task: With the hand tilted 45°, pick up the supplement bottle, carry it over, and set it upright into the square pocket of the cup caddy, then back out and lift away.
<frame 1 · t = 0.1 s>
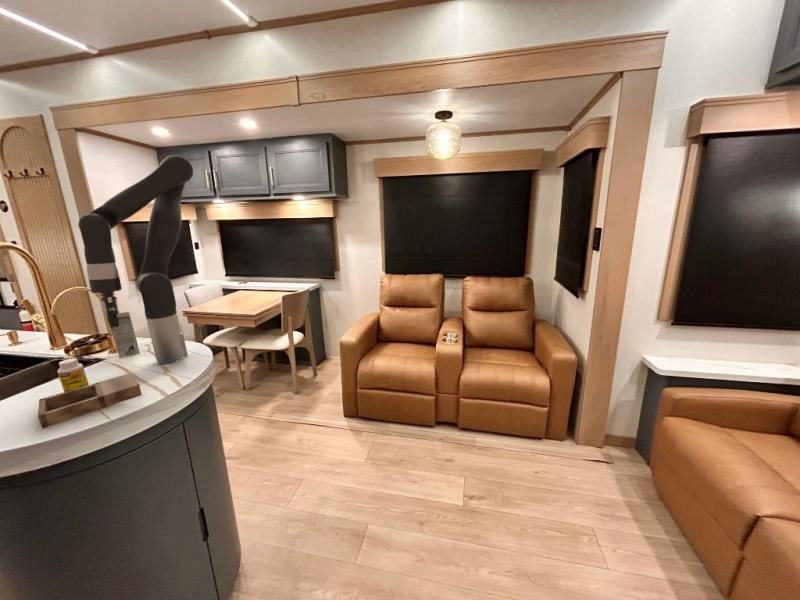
hand: (113, 324, 107), 17 cm above the countertop, tool pointing down, fingers open, 8 cm apart
cup caddy: (94, 402, 92), on the countertop
coffee box: (129, 353, 128), on the countertop
supplement bottle: (77, 391, 99), on the countertop
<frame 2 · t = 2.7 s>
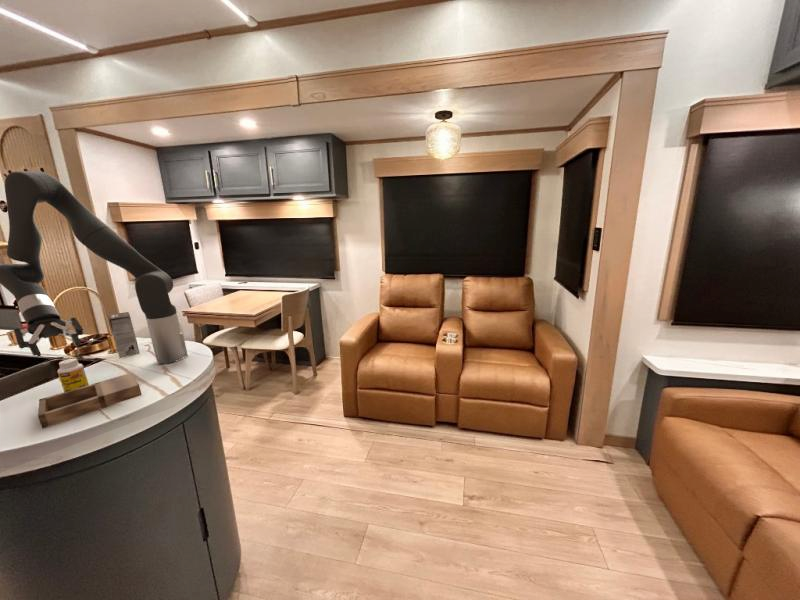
hand: (59, 350, 100), 12 cm above the countertop, tool tilted 45°, fingers open, 8 cm apart
nothing on the countertop moved.
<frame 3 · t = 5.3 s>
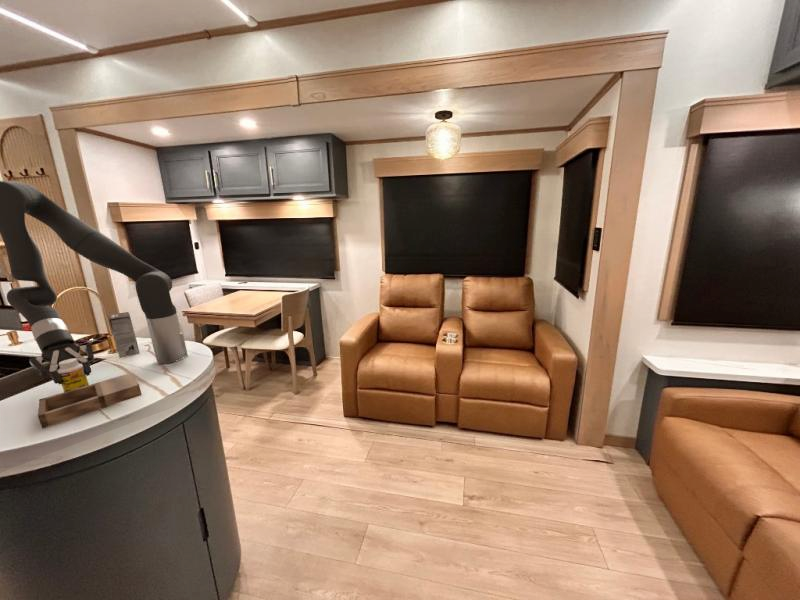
hand: (74, 378, 97), 5 cm above the countertop, tool tilted 45°, fingers closed on supplement bottle, 5 cm apart
supplement bottle: (77, 391, 99), on the countertop, touching gripper
everything else where it was.
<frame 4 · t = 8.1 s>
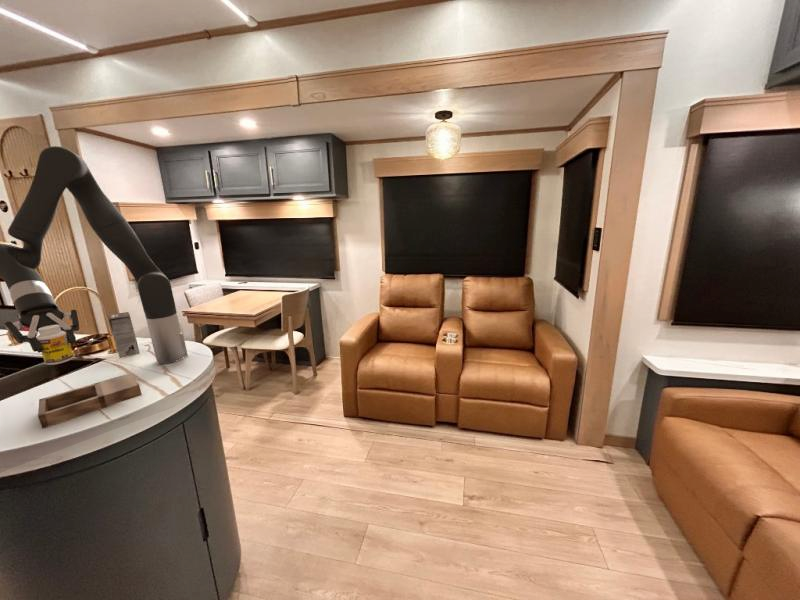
hand: (56, 346, 86), 18 cm above the countertop, tool tilted 45°, fingers closed on supplement bottle, 5 cm apart
supplement bottle: (60, 361, 88), point 13 cm above the countertop, touching gripper
everything else where it was.
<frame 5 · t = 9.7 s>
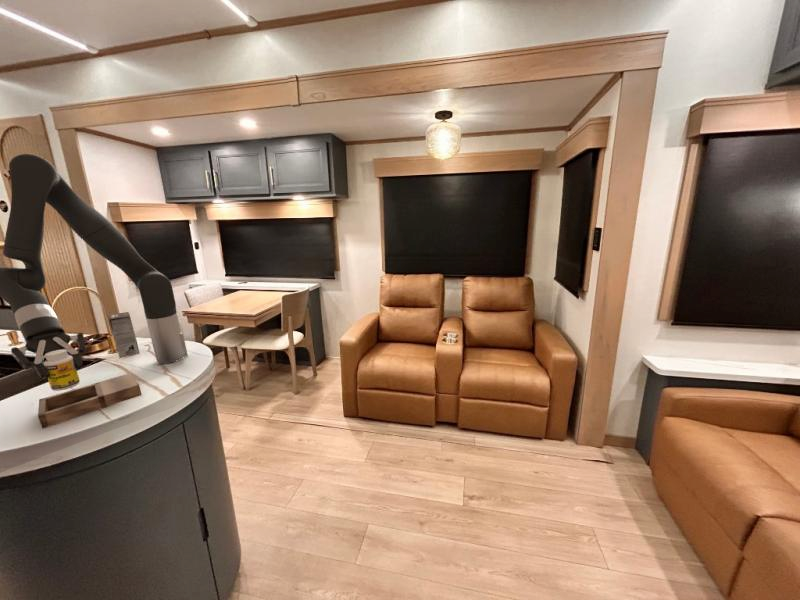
hand: (63, 372, 85), 12 cm above the countertop, tool tilted 45°, fingers closed on supplement bottle, 5 cm apart
supplement bottle: (66, 387, 87), point 7 cm above the countertop, touching gripper
everything else where it was.
when the fingers open (6 cm above the countertop, at t = 11.2 s): supplement bottle stays where it is, resting on cup caddy.
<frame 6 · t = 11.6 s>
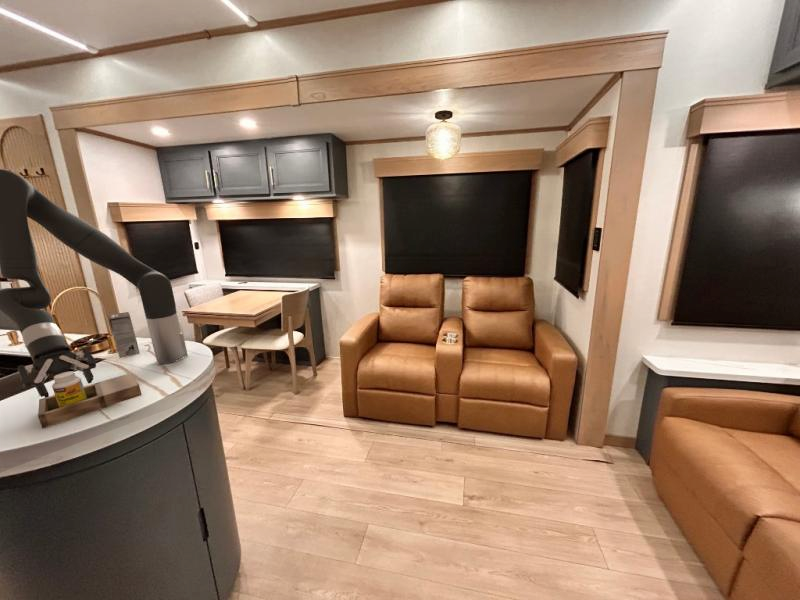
hand: (69, 388, 86), 7 cm above the countertop, tool tilted 45°, fingers open, 8 cm apart
supplement bottle: (75, 407, 89), resting on cup caddy
everything else where it was.
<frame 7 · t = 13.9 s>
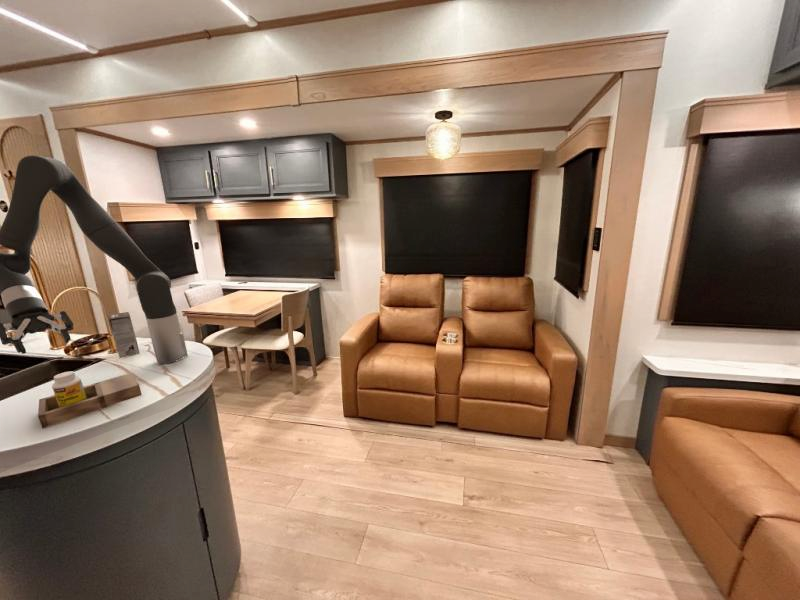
hand: (46, 346, 91), 17 cm above the countertop, tool tilted 45°, fingers open, 8 cm apart
nothing on the countertop moved.
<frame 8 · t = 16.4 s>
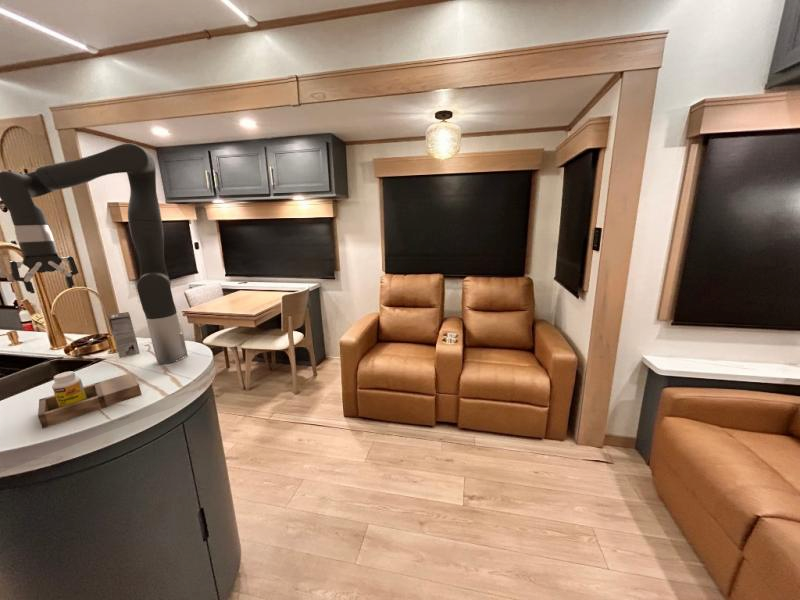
hand: (52, 290, 103), 30 cm above the countertop, tool pointing down, fingers open, 8 cm apart
nothing on the countertop moved.
at the end: supplement bottle inside the target area on the cup caddy (0.3 cm from its centre), point 0.1 cm above the cup caddy's base; supplement bottle tilted 0°; the gripper is holding nothing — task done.
